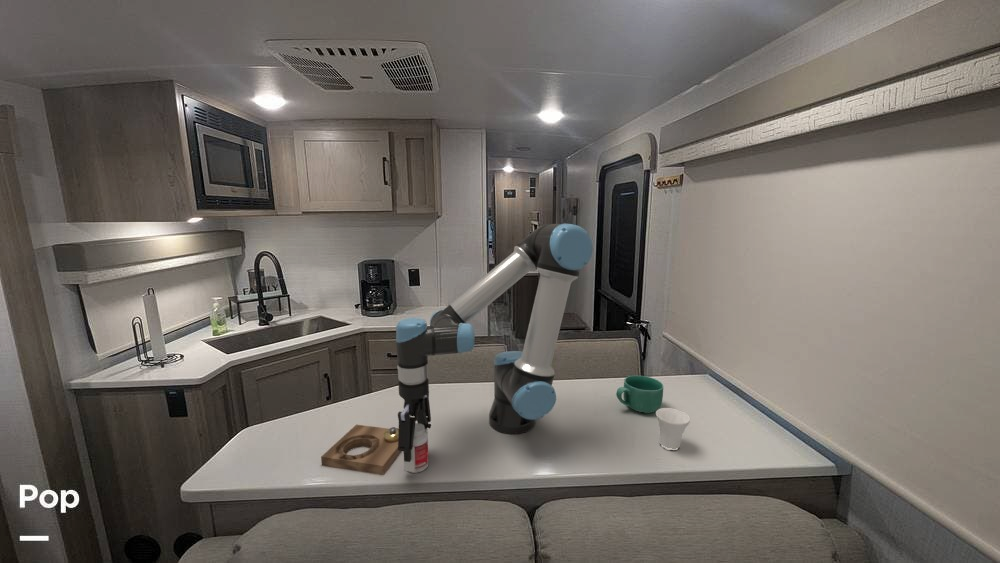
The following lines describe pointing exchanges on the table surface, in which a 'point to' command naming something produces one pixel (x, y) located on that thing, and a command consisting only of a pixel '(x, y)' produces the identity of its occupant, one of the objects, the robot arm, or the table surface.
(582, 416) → the table surface
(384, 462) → the carrier plate
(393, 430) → the disc
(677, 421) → the cup
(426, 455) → the pill bottle
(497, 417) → the robot arm
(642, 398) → the mug
